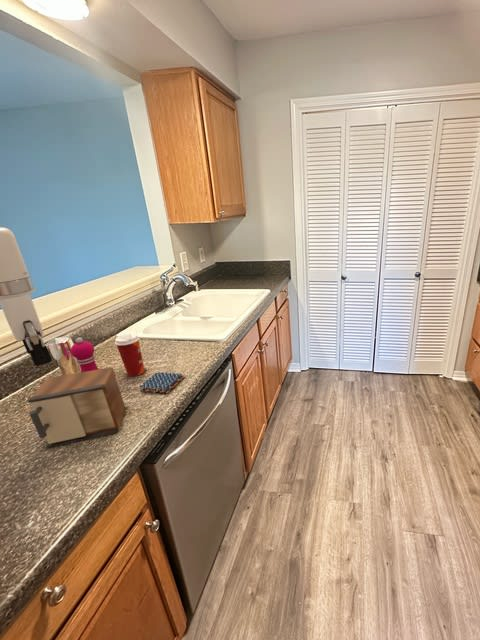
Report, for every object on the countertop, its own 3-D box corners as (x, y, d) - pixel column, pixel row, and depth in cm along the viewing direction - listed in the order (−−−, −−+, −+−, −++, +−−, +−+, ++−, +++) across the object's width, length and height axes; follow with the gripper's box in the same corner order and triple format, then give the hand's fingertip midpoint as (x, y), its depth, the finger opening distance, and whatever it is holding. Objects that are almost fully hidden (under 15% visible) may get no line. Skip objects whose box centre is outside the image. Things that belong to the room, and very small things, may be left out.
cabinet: (48, 447, 82) (27, 400, 77) (64, 420, 93) (46, 377, 87) (117, 432, 86) (102, 387, 81) (125, 408, 97) (112, 366, 91)
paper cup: (151, 371, 117) (142, 336, 112) (129, 380, 112) (119, 343, 106) (142, 365, 122) (132, 331, 117) (120, 373, 117) (110, 338, 111)
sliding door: (42, 454, 79) (22, 412, 74) (49, 442, 83) (31, 401, 78) (81, 446, 81) (64, 404, 76) (86, 434, 85) (70, 393, 80)
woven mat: (168, 394, 102) (167, 389, 102) (139, 392, 105) (137, 386, 104) (185, 377, 112) (184, 372, 111) (158, 375, 114) (156, 370, 113)
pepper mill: (99, 401, 101) (79, 343, 93) (79, 399, 102) (57, 342, 94) (115, 388, 107) (97, 333, 99) (96, 387, 109) (77, 332, 101)
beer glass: (83, 371, 120) (70, 334, 114) (86, 378, 115) (73, 340, 109) (61, 378, 115) (46, 340, 110) (63, 385, 111) (48, 346, 105)
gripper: (-15, 285, 74) (14, 352, 80) (-8, 298, 62) (26, 375, 69) (26, 278, 78) (50, 343, 85) (39, 289, 67) (66, 362, 74)
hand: (39, 357), depth 77 cm, fingers open, 9 cm apart
